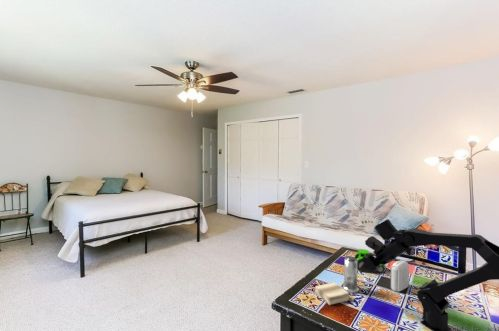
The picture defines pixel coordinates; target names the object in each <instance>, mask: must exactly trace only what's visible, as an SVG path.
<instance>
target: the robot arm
mask: <svg viewBox="0 0 499 331" xmlns="http://www.w3.org/2000/svg"><path fill="white" fill-rule="evenodd" d="M373 228H374V229H373V230H375V231H376V232H377V234H378V235H379V236H380V238H381V239H382V240H384V241H388V243H383V242H382V241H381V240H380V239H378V238H376V237H375V236H372V235H371V236H369V237H367V239H366V240H364V245H366V247H368V248H369V249H371V250H373V251H372V253H373V254H374V255H375V256H374V255H373V254H371V253H369V254H368V255H366V256H364V257H363V258H362V260H363V261H364V263H363V265H362V266H361V267H360V269H359V270H360V271H361V273H365V271H368V272H371V273H374V272H375V271H376V270H378V269H379V268H380V265H381V264H383V265H385V264H386V265H387V264H389V263H391V262H393V261H395V260H396V259H397V258H398V257H399V256H401V255H403V254H404V253H406V254H407V255H408V256H411V255H413V254H414V253H415V251H414V249H415V247H423V246H429V245H432V246H441V247H442V246H444V247H452V248H453V247H454V248H455V247H456V248H464V249H471V250H473V251H475V252H476V253H477V254H478V255H479V257H481V258H482V259H483V260H484V261H485V263H483V264H481V266H479V267H477V268H473V269H471V270H469V271H467V272H464V273H461V274H459V275H457V276H454V277H451V278H449V279H448V280H445V281H441V282H439V281H437V280H436V278H433V279H432V280H431V281H427V282H424V283H423V284H422V285H421V286H420V287H419V289H418V291H416V295H417V299H418V300H419V302H420V304H421V307H422V320H421V321H420V323H421V324H422V325H423V326H425V327H427V328H428V329H429V330H431V331H451V330H452V327H450V326H449V313H448V312H447V311H446V310H447V309H448V308H449V306H450V303H449V301H448V300H447V297H448V296H450V295H451V296H452V294H455V293H459V292H461V291H464V290H467V289H470V288H472V287H474V286H477V285H480V284H483V283H485V282H488V281H492V280H495V281H496V280H498V281H499V245H497V244H495V243H493V242H491V241H490V240H488V239H487V238H485V237H484V236H482V235H480V234H477V233H476V234H463V233H462V234H461V233H459V234H458V233H445V232H443V233H442V232H431V231H428V230H425V229H420V228H414V227H412V228H408V229H402V228H401V229H399V230H398V229H397V228H396V227H395V226H394V224H392V222H391V221H390V219H388V218H387V219H386V220H384V221H381V223H378V224H377V225H375V226H374V227H373ZM386 265H385V266H386ZM359 270H358V271H359ZM360 271H359V272H360ZM376 272H377V271H376Z"/></svg>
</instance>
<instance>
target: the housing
mask: <svg viewBox="0 0 499 331" xmlns="http://www.w3.org/2000/svg"><path fill="white" fill-rule="evenodd" d="M343 261H344V264H343V268H344V274H343V275H344V276H343V278H344V281H343V282H344V283H343V284H342V288H343V289H344V290H345V291H347V292H348V293H349V294H357V293H359V291H360V287H359V286H358V269H357V260H356V259H355V256H350V255H349V256H345V258H344V260H343Z"/></svg>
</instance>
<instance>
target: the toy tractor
mask: <svg viewBox="0 0 499 331" xmlns="http://www.w3.org/2000/svg"><path fill="white" fill-rule="evenodd" d="M368 254H370V251H369V250H367V249H364V248H358V250H356V252H355V256H354V258H355V259H356V260H357V271H359V272H361V271H360V270H359V269H360V267H361V266H362V265H363V263H364V261H363V260H362V258H363V257H364V256H366V255H368ZM386 269H387V264H385V265H383V264H381V265H380V268H379V269H378V270H376V272H377V273H379V274H383V273H384V272H385V270H386ZM368 272H369V271H365V272H364V273H368ZM361 273H362V272H361Z"/></svg>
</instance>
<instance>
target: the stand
mask: <svg viewBox="0 0 499 331" xmlns="http://www.w3.org/2000/svg"><path fill="white" fill-rule="evenodd" d="M314 288H315V290H314V291H315V294H316V295H317V296H318V297H319V298H321V299H322V300H323V301H324V302H325V303H326V304H328V305H329V306H331V305H335V304H339V303H344V302H346V301H349V300H350V293H349V292H347V291H345V290H344V289H343V287H341V285H338V284H337V283H336V282H334V281H333V282H329V283H323V284H319V285H315V287H314Z"/></svg>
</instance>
